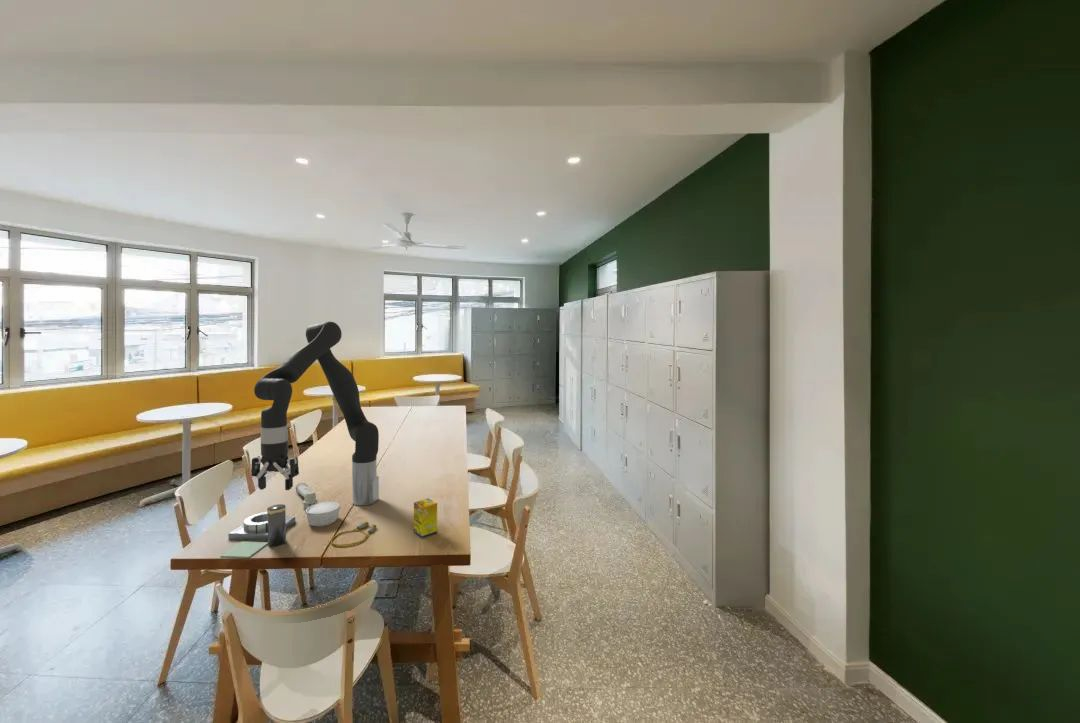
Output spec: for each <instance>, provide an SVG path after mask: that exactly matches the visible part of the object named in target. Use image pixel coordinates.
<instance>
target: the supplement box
mask: <svg viewBox="0 0 1080 723" xmlns="http://www.w3.org/2000/svg"><path fill="white" fill-rule="evenodd" d="M413 533H414V534H416V535H417V536H419V538H421V539H425V538H428V537H430V536H432V535H435V534H437V533H438V503H437V502H436V501H434V500H432V499H431V498H429V497H428V498H424V499H420V500H417V501H413Z"/></svg>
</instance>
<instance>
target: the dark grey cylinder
mask: <svg viewBox="0 0 1080 723" xmlns="http://www.w3.org/2000/svg"><path fill="white" fill-rule="evenodd" d="M286 508H287V507H286V504H283V503H282V504H281V503H279V504H278V503H277V504H273V505H271V506H268V507H267V508H266V512H267V516H268V540H267V542H268V544H267V546H268V547H271V548H276V547H279V546H282V545H284V544H286V543H287V528H286Z"/></svg>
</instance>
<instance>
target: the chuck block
mask: <svg viewBox="0 0 1080 723" xmlns="http://www.w3.org/2000/svg"><path fill="white" fill-rule="evenodd" d="M295 523H296V516H286V529H288V528H289V527H291V526H292V525H293V524H295ZM227 534H228V535H227V536H228V540H245V541H246V540H247V541H250V540H251V541H268V516H267V511H264V512H263V511H262V512H258V513H255V514H252V515H250V516H247V517H246V518H245V519H244V520H243V523H242V524H241V525H240V526H238V527H236V528H235V529H233V530H231V531H230V532H228V533H227Z"/></svg>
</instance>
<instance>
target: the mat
mask: <svg viewBox="0 0 1080 723" xmlns="http://www.w3.org/2000/svg"><path fill="white" fill-rule="evenodd" d="M266 546H268V541H266V542H265V541H240V542H239V543H238V544H237V543H236V545H234V546H233V547H232V548H230V549H228V550H227V551H225V552H224V553H223V554H221V555H220V558H236V559H237V558H238V559H239V558H241V559H245V558H246V559H249V558H251V557H252V556H254V555H255V554H256V553H258V552H259V551H260V550H262V549H264V548H265V547H266Z"/></svg>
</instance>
